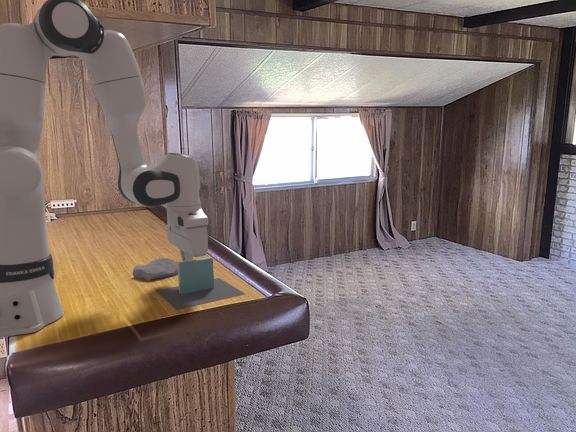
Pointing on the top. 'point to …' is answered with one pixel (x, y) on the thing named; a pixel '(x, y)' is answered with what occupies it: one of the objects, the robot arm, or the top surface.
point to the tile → (195, 275)
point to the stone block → (156, 269)
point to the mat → (199, 295)
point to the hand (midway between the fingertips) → (187, 265)
